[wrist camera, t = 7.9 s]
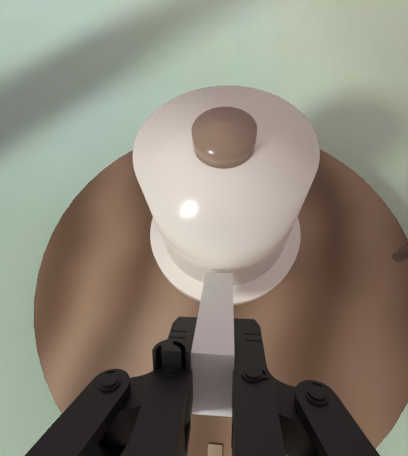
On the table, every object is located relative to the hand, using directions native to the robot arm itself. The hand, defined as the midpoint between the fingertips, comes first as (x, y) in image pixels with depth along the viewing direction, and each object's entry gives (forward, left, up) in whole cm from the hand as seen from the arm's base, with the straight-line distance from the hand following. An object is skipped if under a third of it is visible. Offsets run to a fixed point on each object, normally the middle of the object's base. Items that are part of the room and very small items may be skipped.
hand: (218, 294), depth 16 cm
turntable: (0, +4, -7) cm, 8 cm away
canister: (0, +6, -4) cm, 7 cm away
